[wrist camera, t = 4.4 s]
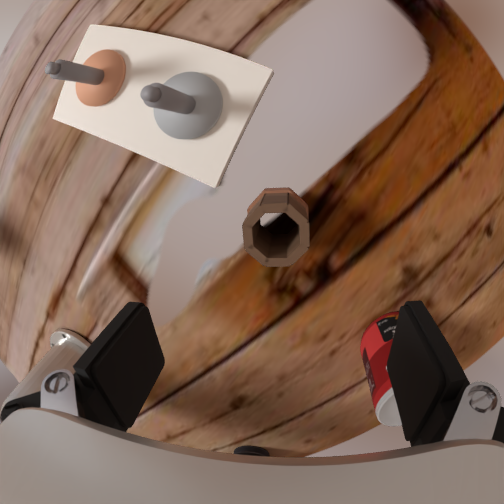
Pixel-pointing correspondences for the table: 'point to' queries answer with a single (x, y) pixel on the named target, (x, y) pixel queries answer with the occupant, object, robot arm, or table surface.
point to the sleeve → (281, 245)
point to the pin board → (159, 70)
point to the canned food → (380, 367)
